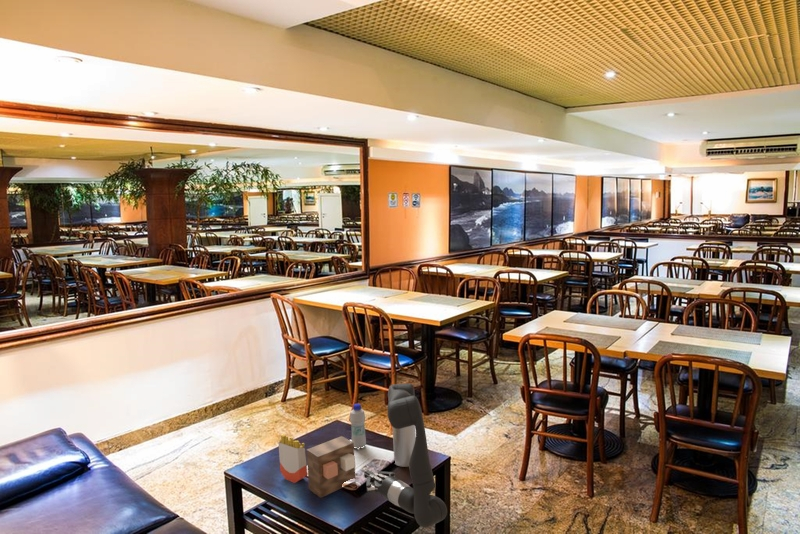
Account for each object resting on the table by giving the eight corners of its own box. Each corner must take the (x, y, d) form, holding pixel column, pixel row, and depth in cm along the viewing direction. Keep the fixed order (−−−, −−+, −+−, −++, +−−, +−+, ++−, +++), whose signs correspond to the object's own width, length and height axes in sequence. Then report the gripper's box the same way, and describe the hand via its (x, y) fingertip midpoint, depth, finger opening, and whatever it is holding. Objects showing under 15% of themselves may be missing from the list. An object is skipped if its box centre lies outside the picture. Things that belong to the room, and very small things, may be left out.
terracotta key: (331, 470, 198) (331, 459, 198) (337, 474, 195) (337, 463, 195) (321, 475, 195) (321, 464, 195) (327, 479, 192) (327, 467, 192)
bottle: (369, 447, 233) (367, 403, 230) (357, 452, 228) (355, 408, 226) (360, 442, 238) (358, 399, 235) (348, 447, 233) (346, 404, 231)
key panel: (343, 474, 211) (341, 436, 209) (355, 481, 205) (353, 442, 203) (309, 489, 200) (306, 449, 198) (320, 497, 194) (317, 456, 192)
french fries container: (289, 472, 214) (286, 430, 211) (308, 479, 207) (305, 436, 205) (280, 477, 210) (277, 434, 208) (299, 485, 204) (296, 441, 201)
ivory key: (349, 463, 203) (348, 452, 203) (355, 467, 200) (354, 456, 200) (339, 467, 201) (339, 456, 200) (345, 471, 198) (345, 460, 197)
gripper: (410, 474, 182) (379, 456, 195) (381, 488, 174) (350, 469, 187) (411, 494, 183) (380, 475, 196) (382, 510, 175) (351, 489, 188)
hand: (365, 473), depth 192 cm, fingers closed
